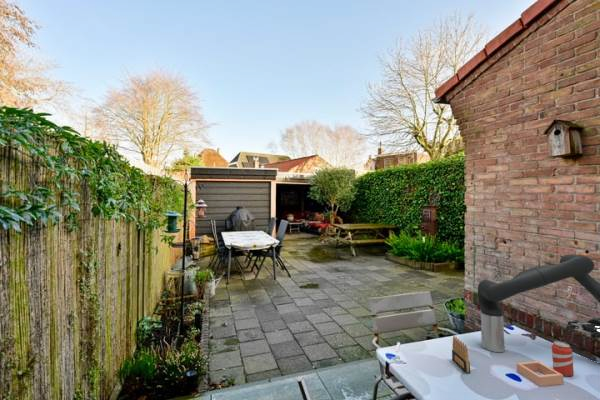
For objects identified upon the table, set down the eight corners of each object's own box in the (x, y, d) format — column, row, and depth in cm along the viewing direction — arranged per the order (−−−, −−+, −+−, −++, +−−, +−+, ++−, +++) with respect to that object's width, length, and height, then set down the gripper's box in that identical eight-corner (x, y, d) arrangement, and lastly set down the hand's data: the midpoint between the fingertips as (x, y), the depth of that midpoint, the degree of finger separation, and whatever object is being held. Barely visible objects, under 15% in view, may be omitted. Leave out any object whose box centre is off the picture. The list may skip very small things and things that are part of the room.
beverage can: (553, 367, 123) (551, 339, 123) (573, 372, 118) (572, 343, 118) (552, 372, 118) (550, 344, 119) (573, 379, 114) (571, 349, 114)
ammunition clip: (470, 373, 119) (469, 345, 120) (466, 373, 119) (464, 345, 120) (456, 360, 130) (454, 334, 130) (452, 360, 130) (450, 334, 130)
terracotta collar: (540, 386, 110) (539, 377, 110) (516, 371, 120) (516, 363, 120) (563, 384, 111) (563, 375, 111) (538, 369, 121) (538, 361, 121)
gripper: (583, 312, 133) (559, 317, 129) (625, 324, 120) (600, 329, 115) (584, 328, 133) (561, 334, 128) (626, 341, 119) (601, 348, 115)
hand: (579, 332), depth 122 cm, fingers open, 8 cm apart
